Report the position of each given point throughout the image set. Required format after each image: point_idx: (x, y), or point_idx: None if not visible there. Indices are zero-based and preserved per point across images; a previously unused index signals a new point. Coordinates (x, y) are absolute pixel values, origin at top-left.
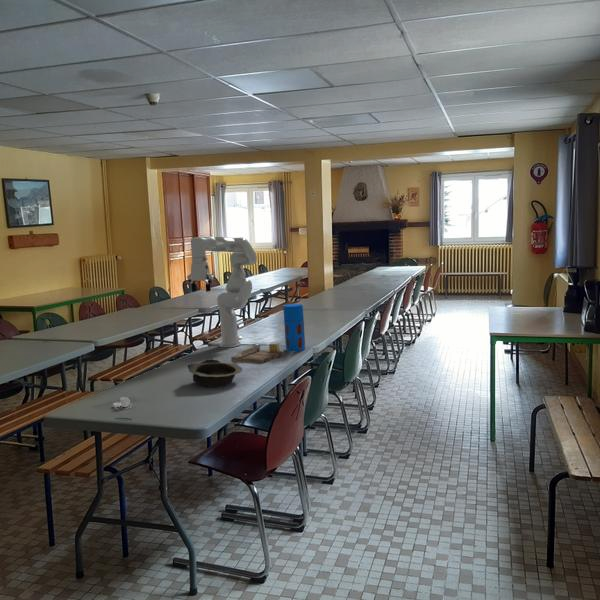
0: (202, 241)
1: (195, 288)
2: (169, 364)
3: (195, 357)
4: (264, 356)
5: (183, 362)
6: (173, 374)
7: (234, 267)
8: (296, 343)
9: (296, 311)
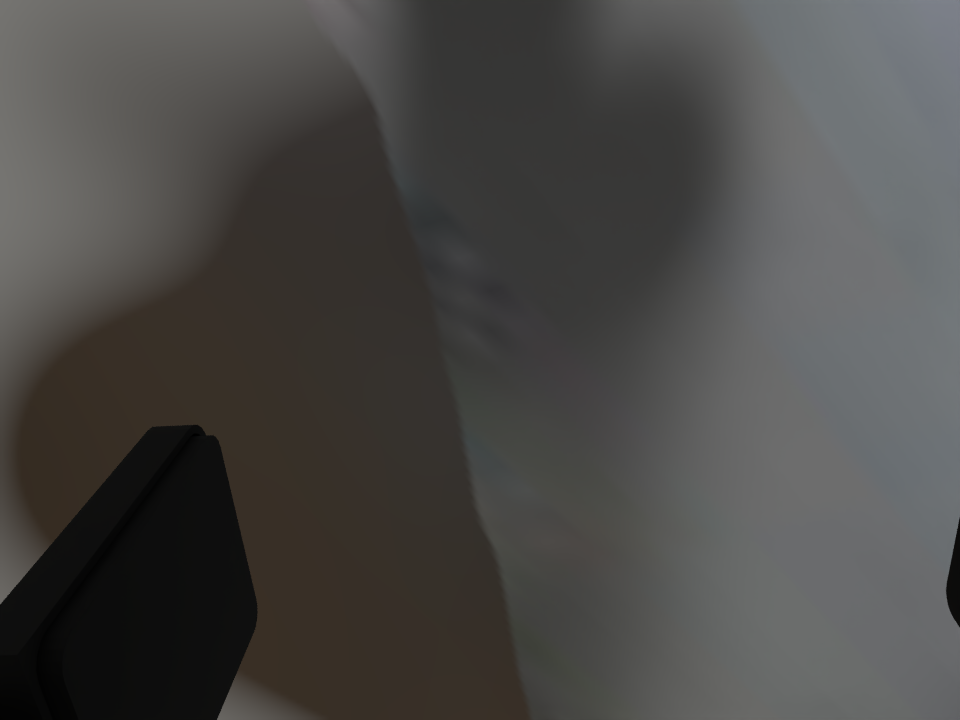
0: None
1: (184, 535)
2: (479, 506)
3: (520, 243)
4: None
5: (547, 424)
6: (725, 690)
7: None
8: None
9: None
